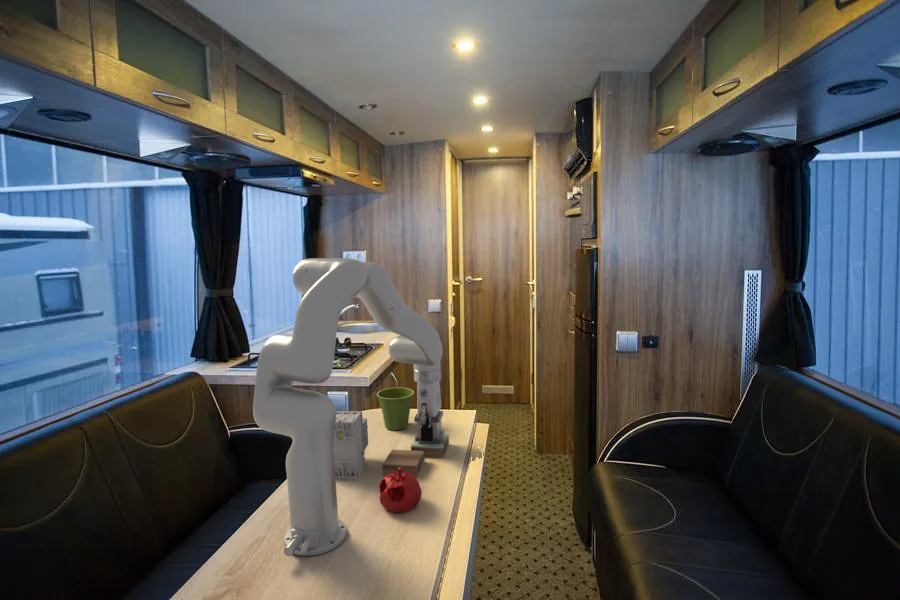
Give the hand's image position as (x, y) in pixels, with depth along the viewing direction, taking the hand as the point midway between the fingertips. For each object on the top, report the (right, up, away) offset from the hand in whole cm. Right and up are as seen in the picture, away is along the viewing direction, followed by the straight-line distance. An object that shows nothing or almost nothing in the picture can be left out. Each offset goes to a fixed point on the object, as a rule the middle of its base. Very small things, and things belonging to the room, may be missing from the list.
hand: (429, 435), depth 151 cm
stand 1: (-6, -6, -10) cm, 13 cm away
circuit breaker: (-21, -6, -7) cm, 23 cm away
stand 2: (0, -4, +1) cm, 4 cm away
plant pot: (-11, -2, +19) cm, 22 cm away
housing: (0, -1, 0) cm, 1 cm away
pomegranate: (-6, -9, -28) cm, 30 cm away
